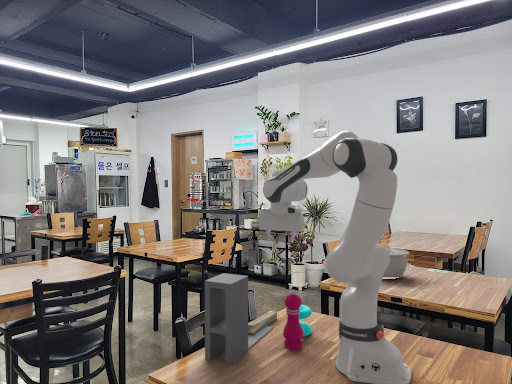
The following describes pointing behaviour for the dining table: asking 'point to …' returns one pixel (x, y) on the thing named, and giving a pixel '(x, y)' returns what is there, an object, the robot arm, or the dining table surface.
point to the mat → (257, 335)
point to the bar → (261, 321)
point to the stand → (226, 316)
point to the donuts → (304, 314)
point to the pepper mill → (293, 322)
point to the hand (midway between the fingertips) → (281, 241)
